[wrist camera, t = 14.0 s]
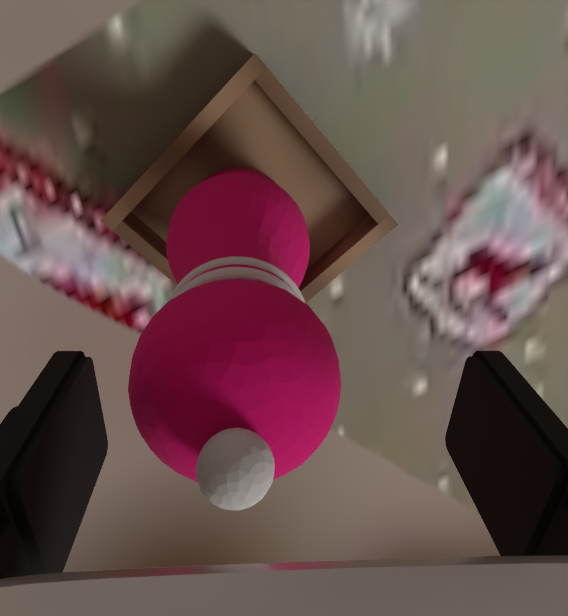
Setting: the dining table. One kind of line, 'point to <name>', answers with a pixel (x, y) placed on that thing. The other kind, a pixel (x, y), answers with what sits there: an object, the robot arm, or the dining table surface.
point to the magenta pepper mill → (235, 344)
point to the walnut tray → (267, 160)
